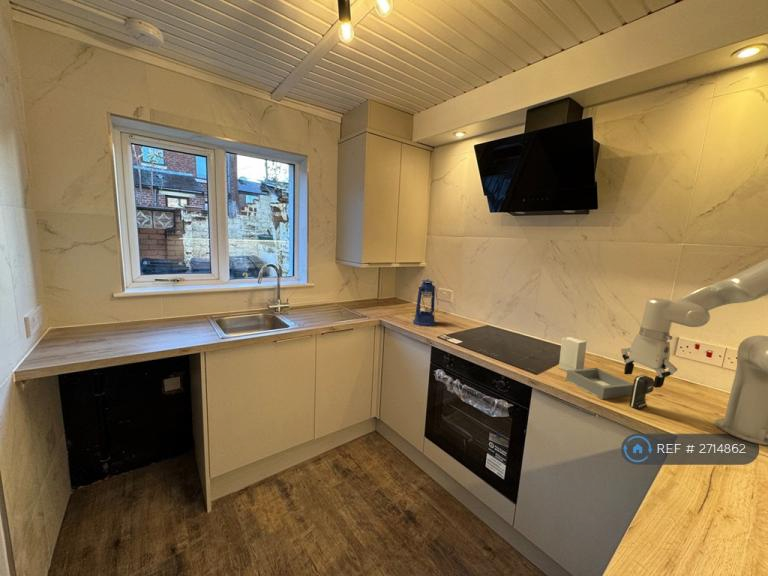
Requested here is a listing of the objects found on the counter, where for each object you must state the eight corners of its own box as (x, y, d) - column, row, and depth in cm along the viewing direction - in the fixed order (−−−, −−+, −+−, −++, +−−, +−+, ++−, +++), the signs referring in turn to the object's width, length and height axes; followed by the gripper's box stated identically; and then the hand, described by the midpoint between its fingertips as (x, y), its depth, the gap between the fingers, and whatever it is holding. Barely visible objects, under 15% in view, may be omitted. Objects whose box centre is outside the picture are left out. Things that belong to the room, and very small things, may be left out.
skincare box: (583, 373, 137) (588, 341, 135) (574, 375, 135) (580, 343, 133) (565, 366, 145) (570, 335, 143) (557, 367, 142) (561, 337, 140)
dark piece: (641, 411, 107) (647, 381, 105) (628, 406, 110) (634, 376, 108) (650, 407, 110) (657, 377, 108) (638, 402, 113) (644, 373, 112)
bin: (633, 395, 119) (635, 384, 118) (602, 399, 114) (604, 388, 113) (594, 377, 134) (596, 367, 133) (565, 380, 129) (567, 370, 128)
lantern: (424, 319, 218) (427, 277, 214) (441, 324, 207) (445, 280, 202) (407, 322, 207) (410, 278, 202) (423, 327, 196) (427, 281, 191)
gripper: (691, 343, 99) (677, 391, 102) (634, 326, 115) (624, 369, 118) (675, 343, 97) (662, 393, 100) (620, 326, 113) (610, 370, 116)
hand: (641, 380), depth 109 cm, fingers open, 9 cm apart
